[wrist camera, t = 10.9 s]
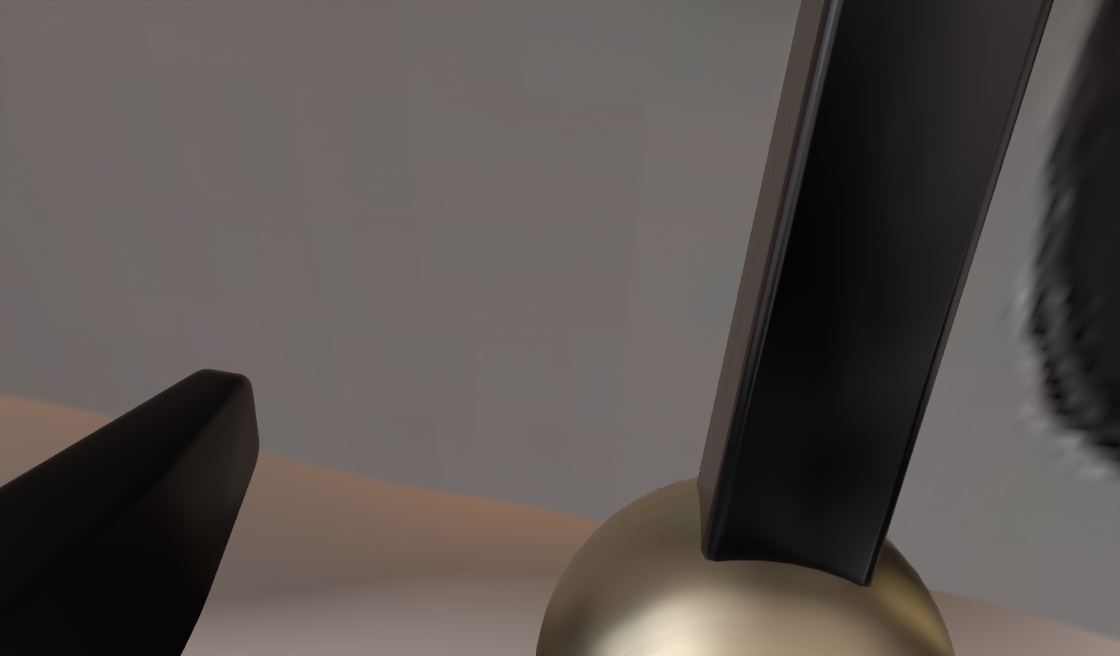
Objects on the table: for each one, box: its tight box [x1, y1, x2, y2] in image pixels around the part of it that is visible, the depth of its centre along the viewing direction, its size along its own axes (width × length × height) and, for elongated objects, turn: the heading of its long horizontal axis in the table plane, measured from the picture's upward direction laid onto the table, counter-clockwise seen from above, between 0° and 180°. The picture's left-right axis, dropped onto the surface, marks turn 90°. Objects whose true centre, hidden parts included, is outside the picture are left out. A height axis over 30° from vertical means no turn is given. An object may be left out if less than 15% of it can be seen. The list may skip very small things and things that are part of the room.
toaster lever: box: [536, 0, 1054, 656], centre depth 5 cm, size 12×3×3 cm, turn 174°
